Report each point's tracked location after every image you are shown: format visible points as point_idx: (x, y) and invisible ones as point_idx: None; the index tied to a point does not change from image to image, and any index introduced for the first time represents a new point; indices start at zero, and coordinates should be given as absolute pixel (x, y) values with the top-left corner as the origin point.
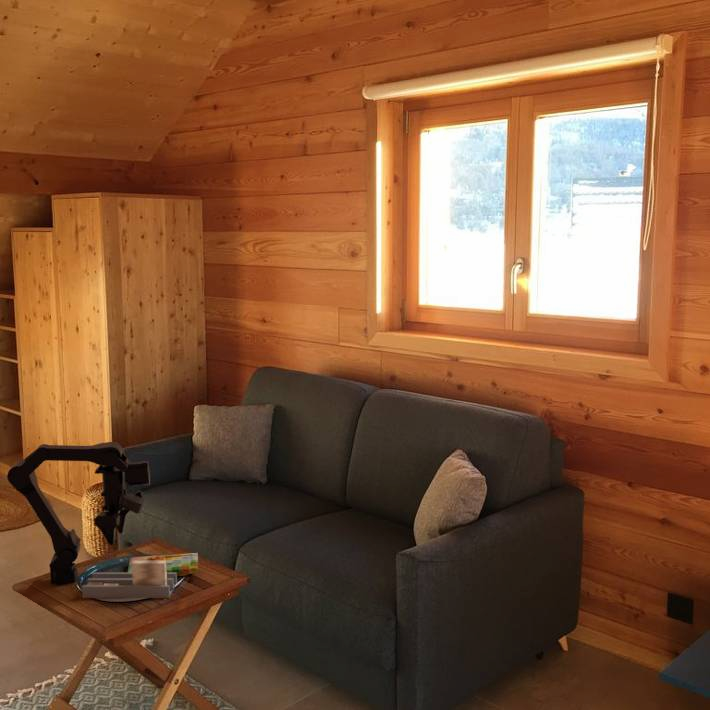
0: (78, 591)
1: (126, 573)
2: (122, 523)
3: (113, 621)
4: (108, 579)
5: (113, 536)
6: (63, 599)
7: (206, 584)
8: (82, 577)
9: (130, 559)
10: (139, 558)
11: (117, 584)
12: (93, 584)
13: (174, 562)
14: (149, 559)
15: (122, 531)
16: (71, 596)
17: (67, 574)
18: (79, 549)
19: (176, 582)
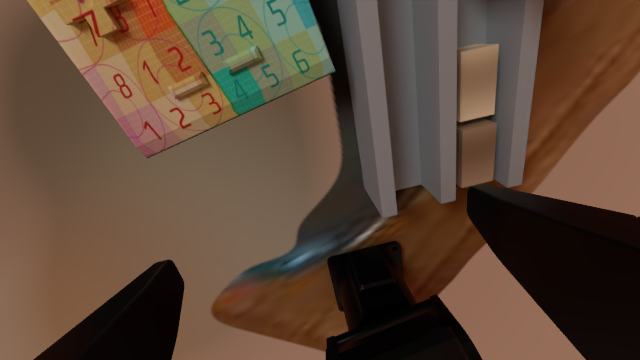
0: (400, 216)
1: (376, 56)
2: (107, 354)
3: None
4: (454, 112)
5: (609, 212)
6: (458, 225)
7: None
8: (296, 261)
9: (160, 148)
10: (135, 101)
11: (471, 52)
12: (482, 157)
13: None
14: (121, 28)
15: (163, 269)
16: (437, 216)
17: (403, 288)
18: (380, 354)
19: None
